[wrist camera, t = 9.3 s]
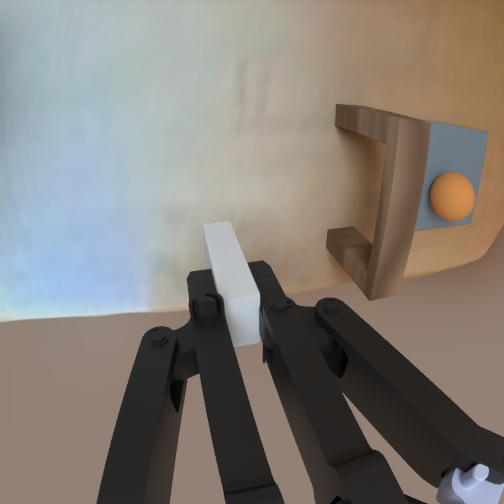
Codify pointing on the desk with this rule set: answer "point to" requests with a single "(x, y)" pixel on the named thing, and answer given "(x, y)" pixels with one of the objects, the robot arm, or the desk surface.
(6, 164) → the desk surface
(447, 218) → the ball
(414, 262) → the desk surface
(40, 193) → the desk surface
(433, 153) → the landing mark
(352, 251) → the bridge
